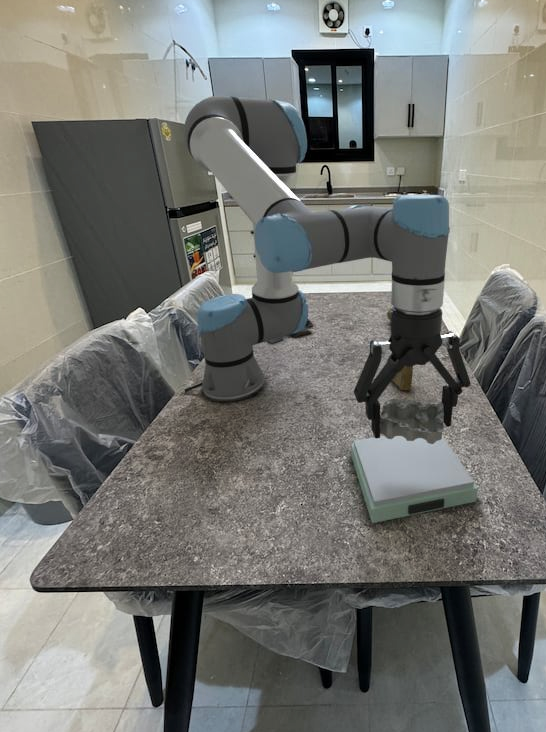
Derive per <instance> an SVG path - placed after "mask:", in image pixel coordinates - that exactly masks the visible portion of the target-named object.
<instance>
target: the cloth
mask: <svg viewBox="0 0 546 732" xmlns="http://www.w3.org/2000/svg"><path fill="white" fill-rule="evenodd" d="M313 326H314V325H313V322H312V321H311V319H309V318H308V319H307V322H306V325H305V326H304V328H303V329H302V330H301V331H299V332H296V333H293V334H291V335H290V337H292V338H297V337H300V336H303V335H308V334H311V333H313V332H312V331H311V330H310V329H309V328H311V327H313ZM283 340H284V337H280V338H276V339H273V340H269V341H267V342H268V343H270V344H271V345H272V344H275V343H278V342H280V341H283Z"/></svg>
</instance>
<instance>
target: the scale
mask: <svg viewBox="0 0 546 732" xmlns="http://www.w3.org/2000/svg"><path fill="white" fill-rule="evenodd" d="M350 456H351V460H352V463H353V466H354V470H355V473H356V476H357V479H358V483H359V486H360V489H361V493H362V496H363V499H364V502H365V506H366V508H367V512H368V516H369V519H370V522H371V524H376V523H380V522H386V521H390V520H395V519H400V518H405V517H409V516H413V515H418V514H424V513H427V512H433V511H438V510H444V509H448V508H451V507H457V506H462V505H466V504H470V503H476V502H477V496H478V491H479V490H478V489H479V488H478V486H477V485H476V484H475V481H474V480H473V478H472V477H471V475H470V474H469V472H468V470H467V469H466V468H465V466H464V465H463V463H462V461H461V460H460V459H459V458H458V456H457V454H456V453H455V451H454V449H452V447H451V446H450V444H449V443H448V441H447V440H446V438H445V437H444V435H443V434H442V439H441V440H438V441H436V442H435V443H434V444H429V443H427V441H426V440H425V439H422V438H417V439H415V440H414V441H407V440H406V439H405V438H404V437H402V436H395V437H394V438H393V439H387V438H386V437H385V435H380V438H377V439H376V438H375V436H373V437H368V438H362V439H355V440H353V442H351V443H350Z"/></svg>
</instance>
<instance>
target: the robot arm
mask: <svg viewBox="0 0 546 732" xmlns="http://www.w3.org/2000/svg"><path fill="white" fill-rule="evenodd" d="M183 139H184V143H185V147H186V150H187V151H188V153H189V155H190V156H191V157H192V159H193V160H194V162H195V163H196V164H197V165H198V166H199V167H200V168H202V169H203V170H205V171H207V172H209V173H211V174H212V175H213V176H214V178H215V179H216V180H217V181H218V183H220V184H221V185H222V187H223V188H224V189H225V191H226V192H227V193H228V195H230V197H231V198H232V199H233V201H234V202H235V203H236V205H238V207H239V208H240V209H241V210H242V212H243V213H244V214H245V215H246V216H247V218H248V219H249V221H251V223H252V229H253V231H252V232H253V241H254V255H255V268H256V282H255V284H253V285H252V286H251V297H249V298H246V297H245V295H243V294H240V293H231V294H222V295H219V296H215V297H213V298H210V299H208V300H206V301H204V302H203V303H202V304H200V306H199V307H198V308H197V310H196V322H197V323H196V324H197V325H196V326H197V330H198V334H199V337H200V342H201V348H202V353H203V358H204V362H205V366H204V372H203V378H202V382H200V383H197V384H195V385H192V386H189V387H187V388H184V392H185V393H187V392H189V391H192V390H195V389H196V388H199V387H202V393H203V395H204V397H205V398H207V399H208V400H210V401H213V402H219V403H232V402H238V401H242V400H245V399H248V398H250V397H252V396H254V395H256V394H257V393H259V392H260V391H261V390H262V389H263V388H264V387H265V384H266V381H265V380H266V379H265V374H264V372H263V370H262V368H261V366H260V364H259V363H258V360H257V359H256V357H255V354H254V347H253V346H254V345H255V346H256V345H258V344H263V343H265V342H268V341H269V340H273V339H276V338H280V337H282V338H284V337H289V336H290V335H291V334H293V333H296V332H299V331H301V330H302V329H303V328H304V326H305V325H306V322H307V319H309V306H308V303H307V298H306V296H305V294H304V292H303V291H302V290H300V288H299V286H298V285H297V284H296V283H295V282H294V281H293V273H298V272H302V271H306V270H310V269H315V268H321V267H325V266H330V265H335V264H343V263H347V262H352V261H358V260H359V261H360V260H363V259H371V258H373V259H378V260H383V261H385V262H391V294H390V304H391V305H392V309H391V308H390V309H391V321H390V335H389V336H390V337H389V339H388V340H387V341H377V339H372V340H370V342H369V354H368V357H366V361H365V363H364V366H363V368H362V370H361V373H360V375H359V377H358V380H357V382H356V385H355V386H354V390H353V394H354V397H355V400H356V402H357V403H359V404H361V403H364V404H365V406H364V408H365V410H364V411H365V416H366V417H367V420H368V421H370V422H371V423H370V424H371V431H372V433H373V437H375V438H376V439H377V438H380V436H381V434H380V415H381V403H380V401H379V399H380V397H381V395H382V394H383V393H384V392H385V390H386V389H387V388H388V386H389V385H390V384H391V383H392V382H393V381H392V379H393V378H394V377H395V375H396V374H397V373H398V372H401V370H402V369H403V368H404V366H407V367H411V366H413V367H414V366H425V365H427V363H429V362H430V364H432V366H433V368H434V369H435V370H436V371H437V372H438V374H439V375H440V376H441V378H442V379H443V380H444V381H445V383H446V384H447V385H442V391H441V402H440V403H443V408H444V421H443V424H444V426H445V427H447V428H449V427H452V420H453V419H452V418H453V408H456V407H457V405H458V401H459V395H461V394H462V393H463V388H469V387H470V386H471V385H472V383H471V379H470V376H469V373H468V371H467V367H466V365H465V362H464V359H463V357H462V354H461V351H460V345H461V343H460V342H461V339H460V337H459V336H458V335H456V333H455V332H453V331H452V330H448V331H447V332H446V334H441V332H442V323H443V310H442V309H441V308H442V307H443V305H444V293H445V282H446V281H445V280H446V261H447V253H448V244H449V243H448V241H449V235H450V231H451V230H450V229H451V227H450V202H449V200H448V199H447V198H446V197H445V196H443V195H438V194H406V195H405V194H403V195H399V196H396V197H395V198H394V200H393V203H392V208H390V207H389V208H388V207H379V206H373V205H371V204H363V205H360V204H357V205H351V206H348V207H347V208H344V209H334V210H333V209H331V210H330V209H329V210H320V211H318V210H317V211H313V210H310V208H309V207H307V205H305V204H304V203H303V202H302V200H300V199H299V198H298V197H297V195H295V194H294V193H293V191H291V186H290V185H291V183H290V182H291V180H292V178H294V177H295V175H296V174H297V164H300V163H301V162H303V161H304V159H305V157H306V153H307V150H308V138H307V132H306V126H305V123H304V121H303V119H302V116H301V115H300V113H299V111H298V109H297V108H296V107H295V106H294V105H292V104H291V103H289V102H286V101H283V100H282V101H281V100H277V99H272V98H269V99H268V98H267V99H266V98H254V97H242V96H229V95H223V94H222V95H212V96H209V97H206V98H204V99H202V100H201V101H199V102H197V103H196V104H195V105H194V106H193V107H192V108H191V109H190V111H189V112H188V114H187V116H186V118H185V121H184V126H183ZM290 337H291V336H290ZM442 345H443V347H445V348H446V351H447V354H448V356H449V359H450V362H451V365H452V368H453V370H454V373H455V376H456V377H455V378H454V377H453V376H452V374H451V373H450V372H449V370H448V369H447V368H446V367H445V366H444V364H443V362H442V361H441V360H440V358H439V357H438V356H437V355H436V353H437V352H438V350H440V348H441V346H442ZM387 351H390V352H391V354H390V355H389V356H388V358H387V359H386V360H387V361H386V363H385V364H384V366H383V367H382V368H381V370H380V371H379V373H377V371H378V369H379V367H380V365H381V362H382V358H384V357H385V355H386V352H387ZM397 359H398V361H397ZM376 374H377V375H376Z"/></svg>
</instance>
